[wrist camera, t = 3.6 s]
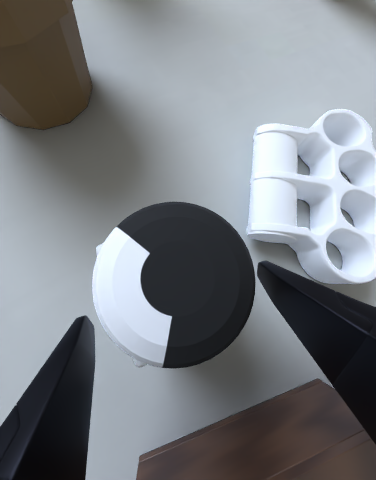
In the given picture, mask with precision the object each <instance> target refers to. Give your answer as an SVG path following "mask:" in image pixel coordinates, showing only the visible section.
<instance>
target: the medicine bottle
mask: <svg viewBox="0 0 376 480" xmlns="http://www.w3.org/2000/svg"><path fill="white" fill-rule="evenodd" d="M96 254H97V260H96V263H95V266H94V272H93V278H92V293H93V301H94V306H95V309H96V313H97V316H98V318H99V320H100V322H101V325H102V327H103V328H104V330H105V331H106V333H107V334H108V336H109V337H110V338H111V340H112V341H113V342H114V343H115V344H116V345H117V346H118V347H119V348H120V349H121V350H123V351H124V352H125V353H126V354H128V355H129V356H131V357H132V359H133V362H134V364H135V365H136V366H137V367H143V366H145V365H147V364H148V365H152V366H156V367H161V368H184V367H190V366H193V365H197V364H200V363H203V362H205V361H207V360H209V359H211V358H213V357H215V356H216V355H218V354H219V353H221V352H222V351H223V350H224V349H226V348H227V347H228V346H229V345H230V344H231V343H232V342H233V341H234V340H235V339H236V337H237V336H238V335H239V333H240V332H241V330H242V329H243V327H244V326H245V324H246V321H247V319H248V317H249V315H250V312H251V309H252V306H253V301H254V295H255V273H254V267H253V263H252V259H251V256H250V254H249V251H248V249H247V247H246V245H245V243H244V241H243V240H242V238H241V237H240V235H239V234H238V232H237V231H236V230H235V229H234V228H233V227H232V226H231V225H230V224H229V223H228V222H227V221H226V220H225V219H223V218H222V217H221V216H219V215H218V214H216V213H215V212H213V211H211V210H209V209H206V208H204V207H201V206H198V205H195V204H190V203H185V202H164V203H159V204H154V205H151V206H148V207H145V208H143V209H141V210H139V211H137V212H135V213H133V214H132V215H130V216H129V217H127V218H126V219H124V220H123V221H122V222H121V223H120V224H119V225H118V226H116V228H115V229H114V230H113V231H112V232H111V233H110V235H109V236H108V237H107V239H106V241H105V242H104V243H103V244H100V245H99V246H97V248H96Z"/></svg>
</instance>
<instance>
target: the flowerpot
mask: <svg viewBox="0 0 376 480" xmlns="http://www.w3.org/2000/svg"><path fill="white" fill-rule="evenodd" d="M72 1H73V0H0V114H1V115H2V116H3V117H5V118H6V119H7V120H9V121H10V122H12V123H13V124H14V125H16V126H23V127H29V128H36V129H42V130H44V129H48V128H51V127H55V126H59V125H62V124H66V123H70V122H71V121H72V120H73V119H74V118H75V117H76V116H77V115H79V114H80V113H81V112H82V111H83V110H84V109H85V108H86V107H87V106H88V102H89V98H90V94H91V90H92V84H91V79H90V75H89V71H88V67H87V63H86V59H85V55H84V50H83V46H82V42H81V38H80V34H79V30H78V26H77V21H76V17H75V13H74V9H73V5H72Z"/></svg>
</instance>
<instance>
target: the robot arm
mask: <svg viewBox="0 0 376 480" xmlns="http://www.w3.org/2000/svg"><path fill="white" fill-rule="evenodd" d="M257 276H258V278H259V280H260V282H261V283H262V285H263V287H264V289H265V290H266V292H267V294H268V296H269V297H270V299H271V301H272V302H273V304H274V305H275V306H276V308H277V309H278V311H279V312H280V313H281V315H282V316H283V317H284V319H285V320H286V322H287V323H288V324H289V326H290V327H291V328H292V330H293V331H294V333H295V334H296V335H297V337H298V338H299V340H300V341H301V342H302V344H303V345H304V346H305V348H306V349H307V351H308V352H309V353H310V355H311V356H312V357H313V359H314V360H315V362H316V363H317V364H318V366H319V367H320V369H321V370H322V371H323V373H324V374H325V375H326V377H327V378H328V380H329V381H330V382H331V384H332V385H333V387H334V388H335V389H336V391H337V392H338V394H339V395H340V396H341V398H342V399H343V401H344V402H345V403H346V405H347V406H348V407H349V409H350V410H351V412H352V413H353V414H354V416H355V417H356V418H357V420H358V421H359V423H360V424H361V425H362V427H363V428H364V429H365V431H366V432H367V434H368V435H369V436H370V438H371V439H372V441H373V442H374V443H375V445H376V307H373V306H371V305H368V304H366V303H363V302H360V301H358V300H355V299H353V298H351V297H348V296H346V295H344V294H341V293H339V292H335V291H334V290H332V289H330V288H328V287H325V286H323V285H321V284H318V283H316V282H314V281H312V280H309V279H307V278H305V277H302V276H300V275H298V274H296V273H293V272H291V271H289V270H286V269H284V268H282V267H280V266H277V265H275V264H273V263H270V262H268V261H262V262H259V263H258V268H257ZM94 371H95V334H94V326H93V324H92V322H91V321H90V320H89V318H88V317H87V316H81V317H78V318H76V319H75V321H74V322H73V324H72V325H71V327H70V328H69V329H68V331H67V332H66V334H65V335H64V337H63V338H62V339H61V341H60V342H59V344H58V345H57V347H56V348H55V349H54V351H53V352H52V354H51V355H50V357H49V358H48V359H47V361H46V362H45V364H44V365H43V367H42V368H41V369H40V371H39V372H38V374H37V375H36V377H35V378H34V380H33V381H32V382H31V384H30V385H29V387H28V388H27V390H26V391H25V392H24V394H23V395H22V397H21V398H20V400H19V401H18V402H17V405H16V406H15V407H14V408H13V409H12V411H11V412H10V414H9V415H8V417H7V418H6V419H5V421H4V422H3V424H2V425H1V426H0V480H85V476H86V464H87V452H88V441H89V429H90V418H91V406H92V394H93V383H94Z"/></svg>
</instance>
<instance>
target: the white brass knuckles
mask: <svg viewBox="0 0 376 480" xmlns="http://www.w3.org/2000/svg"><path fill="white" fill-rule="evenodd" d="M372 131H373V130H372V128H371V127H370V125H369V124H368V123H367V121H366V120H365V119H363V118H362V117H361V116H360V115H358V114H356V113H354V112H352V111H349V110H346V109H333V110H330V111H328V112H326V113H324V114H323V115H322V116H321V117H320V118H319V119H318V120H317V121H316V122H315V123H314V125H313V126H312V127H311V128H309V129H305V128H301V127H296V126H290V125H283V124H265V125H261V126H259V127H258V128H256V130H255V134H254V136H253V142H254V150H253V164H252V178H251V179H250V185H251V193H250V207H249V222H248V227H247V228H246V234H248V237H249V238H252V239H255V240H259V241H264V242H272V243H285V244H288V245H289V246H290V247H291V248H292V249H293V250H294V251H295V252H296V253H297V257H298V260H299V262H300V264H301V266H302V268H303V269H304V270H305V272H306V273H307V274H308V275H309V276H311V277H312V278H314V279H315V280H317V281H319V282H322V283H327V284H363V283H367V282H370V281H372V280H374V279H375V278H376V151H375V149H374V146H373V143H372ZM297 155H299V156H300V158H301V159H302V160H303V161H304V162H305V163H306V164H307V165H308V166H309V169H310V176H308V175H302V174H297ZM340 171H342V172H343V173H344V174H345V175H346V176H347V177H348V178H349V180H350V182H351V183H349V182H348V181H347V180H346V179H345V178H344V177H343V176H342V174H341V172H340ZM297 199H300V200H304V201H306V202H307V203H308V204H309V206H310V230H309V229H308V228H304V227H298V226H297ZM341 208H342V209H344V210H345V211H346V212H348V214H349V215H350V216H351V218H352V220H353V223H354V226H352V225H351V224H350V223H348V222H347V220H346V219H345V218H344V216H343V214H342V212H341ZM327 241H328V242H331V243H332V244H334V245H335V246H336V247H337V248H338V250H339V251H340V253H341V256H342V260H343V264H342V268H341V270H340V269H338V268H337V267H335V266H334V265H333V264H332V262H331V261H330V259H329V257H328V255H327V251H326V242H327Z"/></svg>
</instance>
